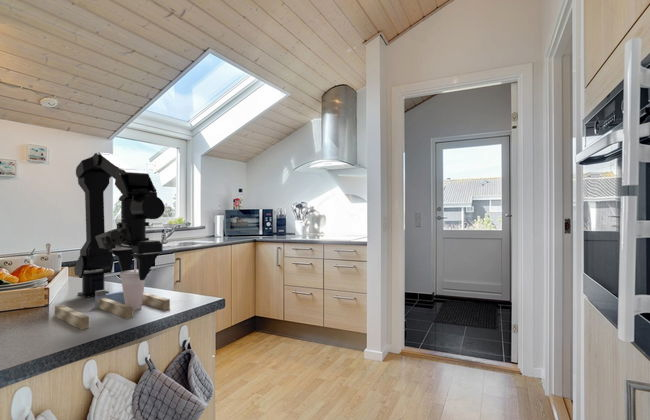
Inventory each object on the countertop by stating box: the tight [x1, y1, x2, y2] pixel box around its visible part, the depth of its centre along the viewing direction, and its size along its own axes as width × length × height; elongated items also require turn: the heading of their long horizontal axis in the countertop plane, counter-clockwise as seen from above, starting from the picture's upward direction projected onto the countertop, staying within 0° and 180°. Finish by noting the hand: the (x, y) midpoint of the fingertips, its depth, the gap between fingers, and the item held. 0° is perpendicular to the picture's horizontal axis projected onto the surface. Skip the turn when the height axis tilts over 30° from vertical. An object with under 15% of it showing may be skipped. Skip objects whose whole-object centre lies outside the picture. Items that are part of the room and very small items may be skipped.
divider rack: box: [54, 291, 171, 330], centre depth 92 cm, size 16×20×2 cm
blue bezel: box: [94, 289, 125, 309], centre depth 101 cm, size 2×11×4 cm, turn 143°
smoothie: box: [119, 257, 146, 311], centre depth 96 cm, size 6×6×14 cm
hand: (133, 277), depth 96 cm, fingers open, 9 cm apart
